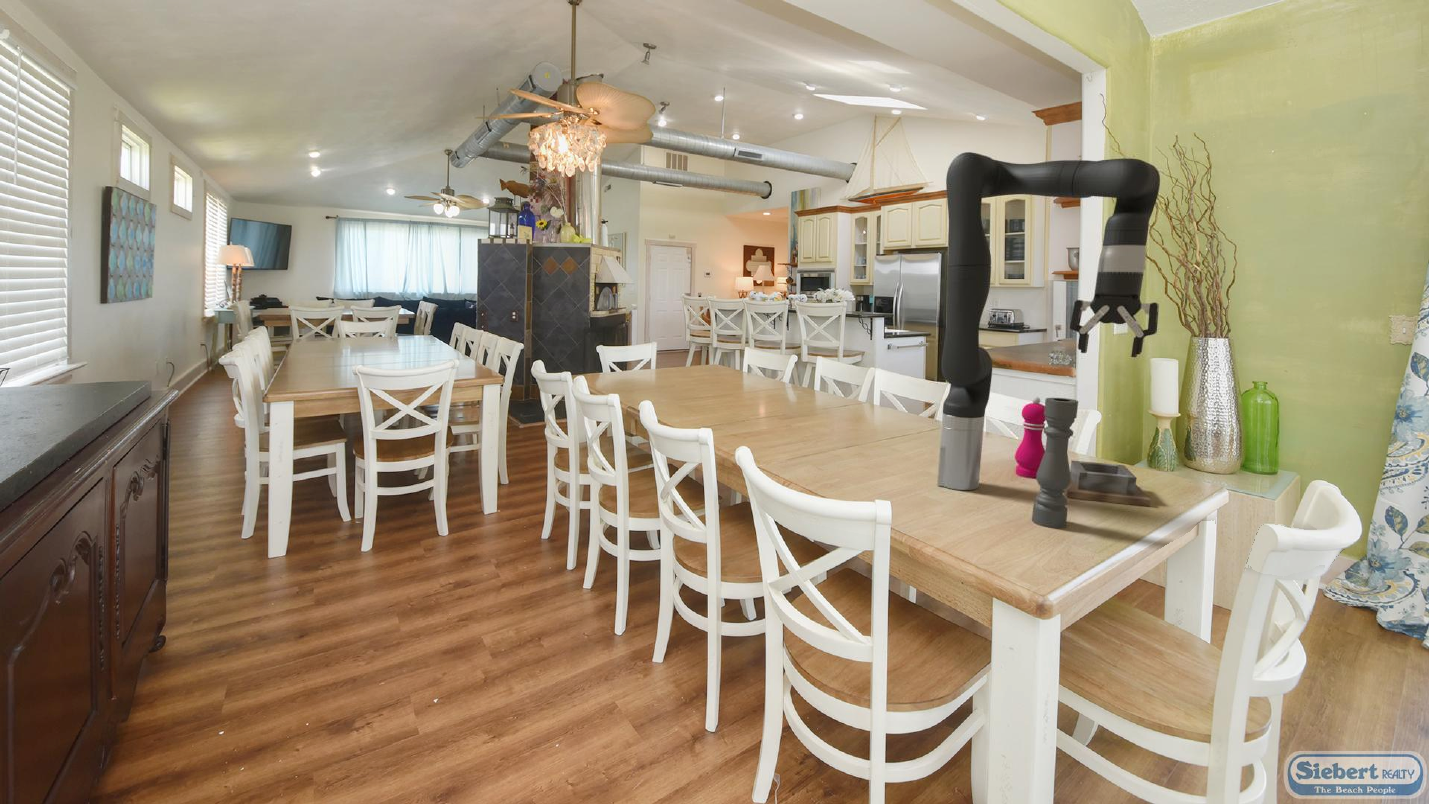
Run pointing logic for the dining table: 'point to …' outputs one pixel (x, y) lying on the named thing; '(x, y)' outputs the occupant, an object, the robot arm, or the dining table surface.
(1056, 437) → the candle holder
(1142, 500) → the socket board
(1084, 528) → the dining table surface
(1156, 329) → the robot arm
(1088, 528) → the dining table surface
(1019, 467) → the pepper mill
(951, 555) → the dining table surface
